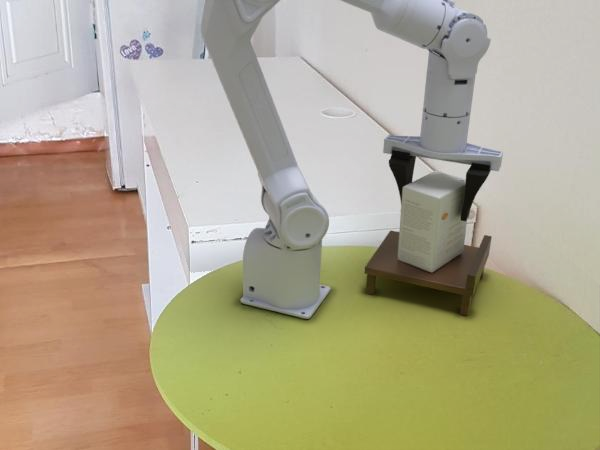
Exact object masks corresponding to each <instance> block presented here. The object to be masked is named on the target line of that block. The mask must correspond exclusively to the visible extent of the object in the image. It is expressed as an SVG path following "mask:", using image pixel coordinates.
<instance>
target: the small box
mask: <svg viewBox="0 0 600 450" xmlns="http://www.w3.org/2000/svg"><path fill="white" fill-rule="evenodd" d="M465 185H466V178H462V177H459V176H456V175H453V174H449V173H446V172H443V171H439V170H434V171H432V172H430V173H427V174H425V175H424V176H421V177H420V178H418V179H416V180H414V181H412V183H410V184H408V185H406V186H403V189H402V203H401V202H400V217H399V218H400V219H399V231H398V232H399V244H398V260H399V261H402V262H405V263H408V264H410V265H413V266H415V267H418V268H421V269H423V270H426V271H428V272H431V273H432V272H434V271H435V270H437V269H438V268H440V267H441V266H443V265H444V264H446V263H447V262H449V261H450V260H452V259H453V258H455V257H456V256H458V255H459V254H461V253H462V252H463V250H464V245H465V240H466V234H467V225H468V220H467V221H461V212H462V207H463V203H464V197H465Z"/></svg>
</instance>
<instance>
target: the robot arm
mask: <svg viewBox="0 0 600 450" xmlns="http://www.w3.org/2000/svg"><path fill="white" fill-rule="evenodd" d="M280 1H281V0H204V5H203V10H202V11H203V12H202V18H201V23H200V33H201V38H202V40H203V43H204V45H205V48H206V50H207V52H208V55H209V58H210V60H211V62H212V65H213V67H214V69H215V71H216V74H217V76H218V79H219V81H220V84H221V86H222V88H223V91H224V94H225V96H226V99H227V100H228V103H229V106H230V108H231V110H232V113H233V115H234V117H235V120H236V123H237V125H238V127H239V129H240V132H241V134H242V137H243V139H244V142H245V145H246V147H247V150H248V151H249V154H250V157H251V159H252V161H253V164H254V166H255V168H256V170H257V177H258V179H259V181H260V185H261V195H260V203H261V206H262V209H263V211H264V212H265V213H266V214H267V216H268V221H267V223H266V225H265V227H255V228H253V229H252V230H251V232H249V234H248V236H247V237H246V241H245V242H244V243H245V244H244V248H243V255H242V297H241V298H240V303H241V304H243V305H248V306H252V307H256V308H260V309H264V310H268V311H273V312H276V313H277V312H278V313H281V314H284V315H289V316H293V317H296V318H301V319H305V320H308V319H311V318H312V316H313V315H314V313H315V312H316V311H317V310H318V308H319V307H320V305H321V304H322V303H323V301H325V299H326V297H327V296H328V294H329V293H330V292H331V287H330V286H328V285H324V284H321V276H322V275H321V273H322V250H323V239H324V237H325V236H326V235H327V233H328V230H329V227H330V217H329V213H328V211H327V210H326V208H325V207H324V206H323V205H322V204H321V203H320V202H319V201H318V199H317V198H316V196H314V194H313V192H312V191H311V189H310V187H309V184H308V183H307V181H306V179H305V177H304V174H303V173H302V170H301V169H300V167H299V165H298V162H297V159H296V157H295V154H294V151H293V148H292V147H291V143H290V141H289V138H288V136H287V133H286V131H285V128H284V125H283V123H282V120H281V117H280V115H279V113H278V109H277V108H276V103H275V102H274V99H273V97H272V94H271V90H270V89H269V86H268V83H267V81H266V78H265V75H264V73H263V71H262V67H261V64H260V63H259V60H258V57H257V54H256V52H255V49H254V47H253V44H252V37H253V35H254V34H255V32H256V30H257V28H258V26H259V25H260V23H261V21H262V19H263V18H264V16H265V15H267V14H268V13H269V12H270V11H271V10H272V9H273V8H274V7H275V6H276V5H277V4H278V3H280ZM339 1H341V2H343V3H345V4H348V5H350V6H353V7H355V8H358V9H361V10H362V11H365V12H368V13H370V15H371V18H372V20H373V24H374V26H375V28H376V29H377V30H379V32H383V33H385V34H388V35H390V36H392V37H395V38H397V39H399V40H402V41H405V42H407V43H409V44H412V45H414V46H416V47H418V48H420V49H423V50H427V52H428V58H427V67H426V75H425V85H424V95H423V105H422V114H421V125H420V134H419V136H418V135H416V136H414V135H397V134H395V135H394V134H388V135H386V136H385V137H384V139H383V148H382V149H383V150H382V153H383V154H386V155H390V158H389V160H388V166H389V168H390V171H391V173H392V176H393V177H394V180H395V182H396V185H397V189H398V195H399V198H400V204H401V203H402V189H403V186H406V185H408V184H410V183H412V182H413V177H414V170H415V165H416V159H417V157H418V158H424V159H429V160H437V161H444V162H448V163H455V164H462V165H468V166H470V167H469V168H468V169H467V171H466V172H465V179H466V185H465V197H464V203H463V207H462V212H461V221H467V222H468V219H469V218H470V217H469V216H470V212H471V209H472V206H473V203H474V201H475V198H476V196H477V194H478V192H479V191H480V189H481V188H482V186H483V185H484V184H485V182H486V181H487V179H488V178H489V176H490V173H491V171H494V172H499V171H500V169H501V167H502V162H503V155H504V151H501V150H496V149H492V148H487V147H483V146H480V145H476V144H473V143H469V142H468V135H469V129H470V128H469V127H470V121H471V120H470V119H471V113H472V106H473V97H474V90H475V83H476V82H475V81H476V75H477V72H478V66H479V63H480V62H481V60H482V58H483V57H485V55H486V54H487V51H488V50H489V48H490V45H491V38H490V37H489V36H488V28H487V25H486V23H484V20H483V19H482V18H481V17H480V16H478V15H476V14H474V13H472V12H469V11H467V10H465V9H462V8H459V7H456V6H455V5H456V1H455V0H339Z"/></svg>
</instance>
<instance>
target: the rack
mask: <svg viewBox="0 0 600 450" xmlns="http://www.w3.org/2000/svg"><path fill="white" fill-rule="evenodd" d="M384 237H385V238H384V239H383V240H382V242H381V243H380V244H379V246H378V247H377V249H376V250H375V252H374V253H373V255H372V256H371V257H370V259H369V260H368V262H367V263H366V264H365V266H364V271H363V274H365V275H366V285H365V294H368V295H374V294H375V292H376V284H377V283H376V282H377V277H379V278H383V279H388V280H392V281H396V282H401V283H407V284H411V285H415V286H421V287H424V288H429V289H433V290H434V289H435V290H437V291H443V292H448V293H453V294H456V295H457V294H458V295H460V296H461V295H462V297H461V302H460V303H461V304H460V311H459V314H460V315H461V316H465V317H468V316H469V314H470V309H471V302H472V298H473V297H474V294H475V293H476V290H477V287H478V285H479V282H480V279H483V278H484V275H485V274H484V272H485V266H486V264H487V262H488V259H489V256H490V250H491V245H492V239H493V238H492V235H487V234H484V235H483V237H482V240H481V241H480V244H479V247H478V246H474V245H467V244H464V250H463V252H462V253H461V254H459V255H458V256H456V257H455V258H453V259H452V260H450V261H449V262H447V263H446V264H444V265H443V266H441V267H440V268H438V269H437V270H435V271H434V272H432V273H431V272H428V271H426V270H423V269H421V268H418V267H415V266H413V265H410V264H408V263H405V262H402V261H399V260H398V244H399V231H396V230H389V231H388V233H387V234H386V236H384Z"/></svg>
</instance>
